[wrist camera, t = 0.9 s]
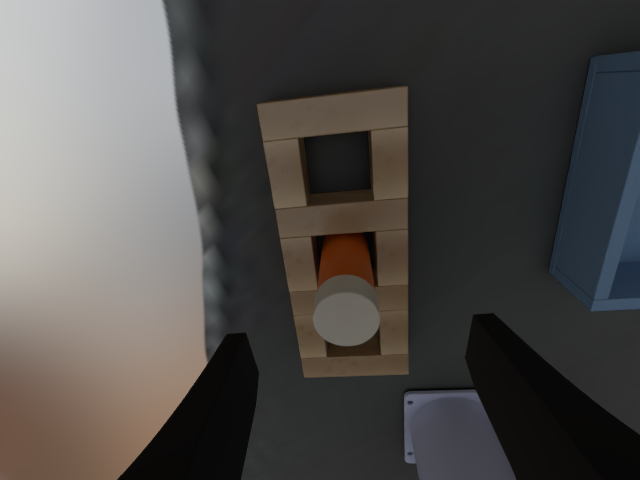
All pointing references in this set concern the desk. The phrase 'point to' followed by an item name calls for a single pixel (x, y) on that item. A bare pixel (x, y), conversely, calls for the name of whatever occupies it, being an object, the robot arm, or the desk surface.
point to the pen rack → (343, 218)
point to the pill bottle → (346, 291)
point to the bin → (603, 191)
